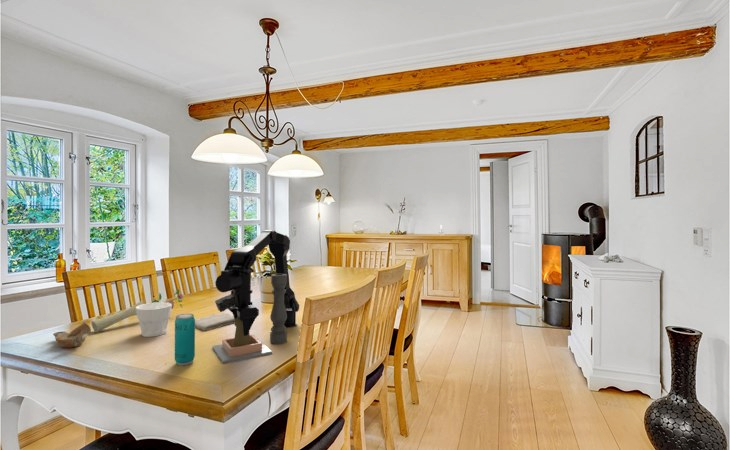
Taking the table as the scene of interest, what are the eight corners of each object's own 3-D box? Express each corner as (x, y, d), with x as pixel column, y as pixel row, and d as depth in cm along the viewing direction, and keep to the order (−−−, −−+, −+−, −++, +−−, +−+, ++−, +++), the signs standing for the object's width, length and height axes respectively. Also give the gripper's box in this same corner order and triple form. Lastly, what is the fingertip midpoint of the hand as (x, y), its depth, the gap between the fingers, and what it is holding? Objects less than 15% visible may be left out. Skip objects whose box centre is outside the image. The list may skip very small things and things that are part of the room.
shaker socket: (257, 340, 139) (257, 331, 139) (272, 353, 125) (272, 344, 125) (212, 348, 130) (212, 338, 130) (222, 363, 116) (222, 353, 116)
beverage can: (179, 359, 119) (179, 313, 119) (197, 359, 120) (197, 313, 120) (171, 366, 114) (171, 318, 113) (190, 366, 114) (190, 317, 114)
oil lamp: (69, 355, 122) (69, 325, 122) (42, 343, 133) (42, 315, 133) (99, 347, 130) (99, 319, 129) (71, 336, 140) (71, 310, 140)
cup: (176, 333, 145) (176, 305, 145) (141, 341, 136) (141, 311, 136) (165, 326, 154) (165, 300, 154) (131, 333, 145) (131, 305, 145)
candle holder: (290, 339, 140) (290, 274, 139) (281, 345, 134) (281, 276, 133) (275, 337, 142) (276, 273, 141) (266, 343, 136) (267, 275, 135)
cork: (245, 352, 124) (245, 319, 124) (229, 350, 125) (229, 318, 125) (254, 346, 130) (254, 315, 130) (238, 344, 131) (239, 314, 131)
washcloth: (241, 322, 164) (241, 315, 164) (204, 332, 149) (204, 324, 149) (224, 318, 170) (224, 311, 170) (187, 327, 155) (187, 320, 155)
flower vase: (97, 348, 149) (178, 311, 178) (108, 345, 142) (191, 307, 171) (86, 321, 149) (169, 288, 177) (96, 317, 142) (181, 284, 170)
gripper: (211, 284, 130) (211, 328, 131) (224, 294, 115) (223, 343, 115) (243, 282, 137) (243, 323, 137) (259, 290, 121) (259, 337, 121)
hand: (241, 331), depth 127 cm, fingers open, 9 cm apart
